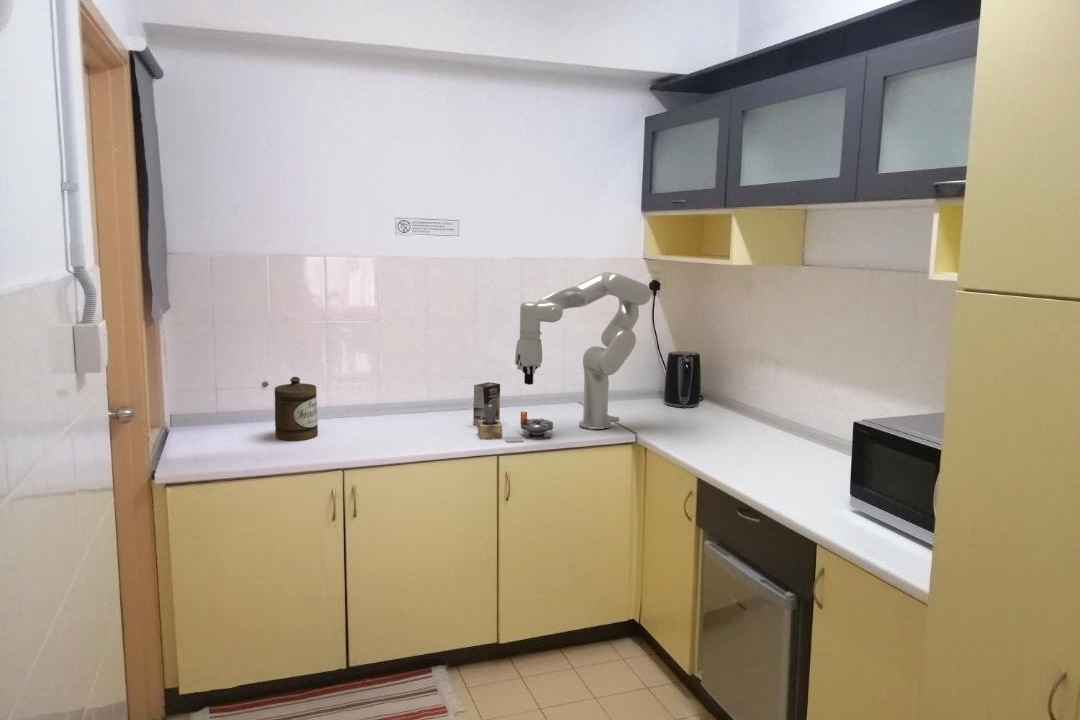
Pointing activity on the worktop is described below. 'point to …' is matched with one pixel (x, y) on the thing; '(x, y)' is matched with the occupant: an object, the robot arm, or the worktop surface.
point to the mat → (514, 439)
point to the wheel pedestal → (536, 434)
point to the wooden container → (296, 411)
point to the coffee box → (485, 400)
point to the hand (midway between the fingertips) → (528, 383)
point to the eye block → (489, 430)
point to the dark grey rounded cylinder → (490, 414)
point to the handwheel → (535, 424)
